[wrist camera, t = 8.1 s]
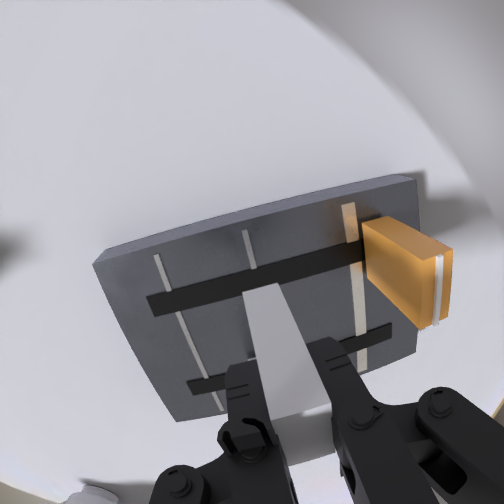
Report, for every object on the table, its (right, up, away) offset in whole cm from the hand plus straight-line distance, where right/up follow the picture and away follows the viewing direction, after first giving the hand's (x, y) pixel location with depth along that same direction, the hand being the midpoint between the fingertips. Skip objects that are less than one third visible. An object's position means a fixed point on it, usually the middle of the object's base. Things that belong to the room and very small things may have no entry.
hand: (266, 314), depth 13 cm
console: (+1, -1, +8) cm, 8 cm away
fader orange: (+7, +3, +5) cm, 9 cm away
